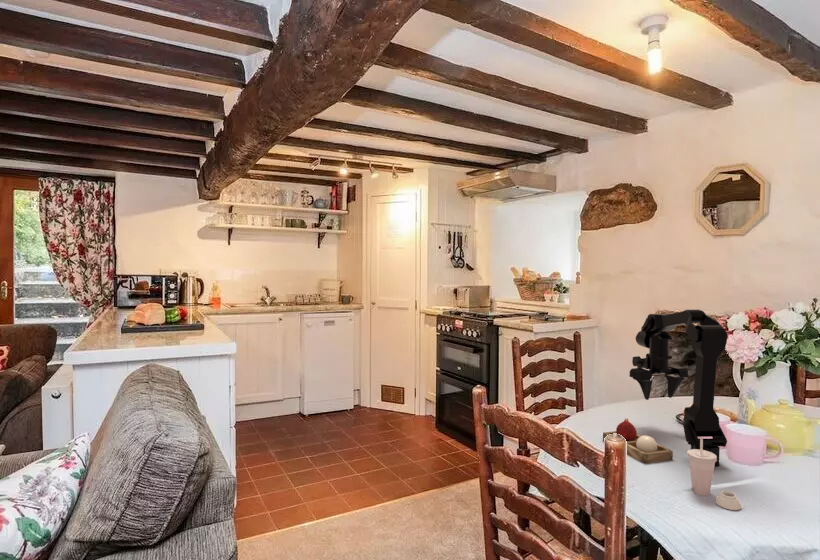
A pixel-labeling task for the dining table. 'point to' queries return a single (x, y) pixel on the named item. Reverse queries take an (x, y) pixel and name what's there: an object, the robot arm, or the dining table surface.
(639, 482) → the dining table surface
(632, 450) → the egg tray
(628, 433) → the onion
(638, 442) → the cream egg
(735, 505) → the beige round hollow piece
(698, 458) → the smoothie
